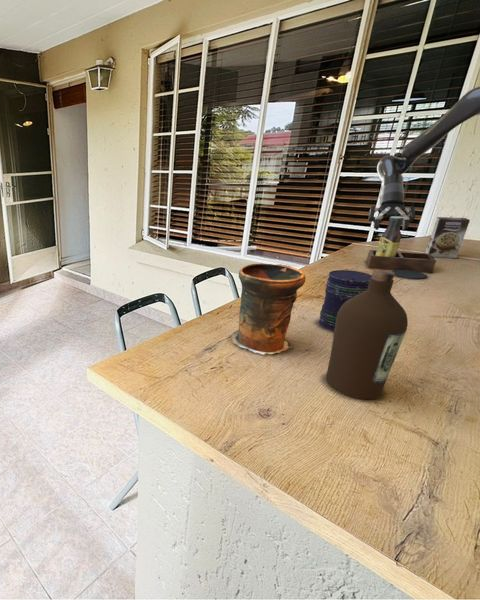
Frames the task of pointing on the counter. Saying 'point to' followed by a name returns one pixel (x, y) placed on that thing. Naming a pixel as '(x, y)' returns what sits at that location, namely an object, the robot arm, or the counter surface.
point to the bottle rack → (402, 261)
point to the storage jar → (341, 294)
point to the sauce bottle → (390, 238)
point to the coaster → (409, 274)
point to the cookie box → (447, 237)
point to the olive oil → (367, 339)
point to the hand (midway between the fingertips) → (390, 229)
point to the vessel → (266, 306)
